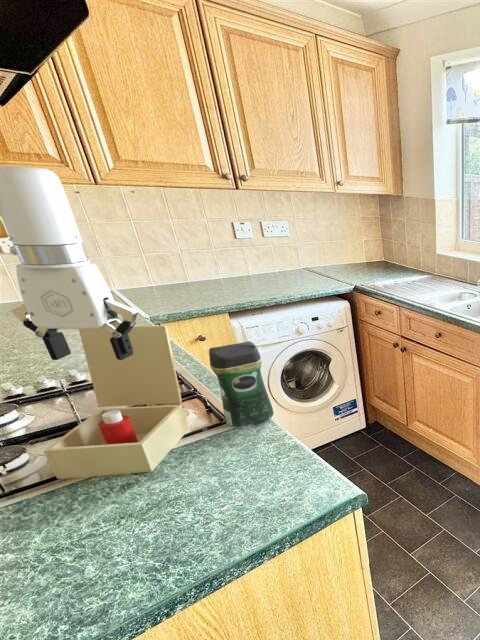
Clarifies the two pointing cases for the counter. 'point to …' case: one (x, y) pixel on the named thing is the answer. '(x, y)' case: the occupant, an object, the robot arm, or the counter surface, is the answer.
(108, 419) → the ketchup bottle
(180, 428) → the bin
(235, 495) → the counter surface
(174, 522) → the counter surface
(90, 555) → the counter surface
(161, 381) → the bin lid
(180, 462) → the counter surface
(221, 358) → the coffee jar
